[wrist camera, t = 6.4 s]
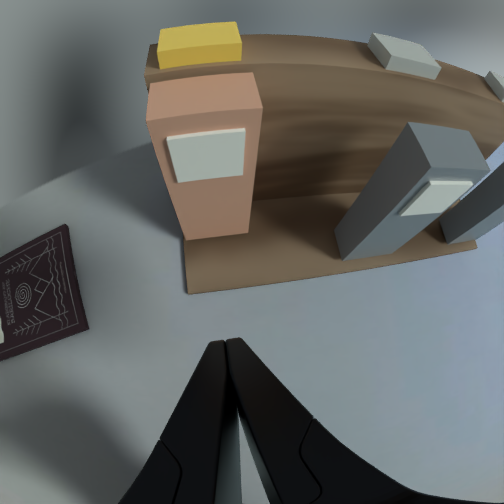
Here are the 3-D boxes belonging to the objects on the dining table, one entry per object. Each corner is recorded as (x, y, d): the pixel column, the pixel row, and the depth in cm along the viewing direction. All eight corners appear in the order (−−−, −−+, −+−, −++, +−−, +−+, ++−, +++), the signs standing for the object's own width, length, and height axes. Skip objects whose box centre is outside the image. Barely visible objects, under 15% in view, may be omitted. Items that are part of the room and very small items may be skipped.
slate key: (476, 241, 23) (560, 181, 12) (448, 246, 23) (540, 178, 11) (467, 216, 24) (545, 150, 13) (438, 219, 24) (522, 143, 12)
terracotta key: (248, 235, 22) (263, 111, 11) (186, 243, 21) (145, 124, 10) (243, 202, 23) (252, 72, 11) (184, 209, 22) (150, 83, 11)
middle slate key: (392, 255, 22) (492, 174, 11) (342, 263, 21) (433, 171, 10) (383, 224, 23) (468, 131, 12) (333, 230, 22) (407, 121, 11)
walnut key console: (475, 248, 24) (574, 180, 10) (188, 294, 21) (120, 185, 8) (443, 166, 27) (514, 81, 14) (180, 179, 24) (147, 29, 11)
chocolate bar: (85, 328, 19) (-43, 374, 15) (91, 329, 20) (-37, 375, 16) (65, 223, 21) (-53, 290, 18) (70, 228, 22) (-47, 292, 19)
